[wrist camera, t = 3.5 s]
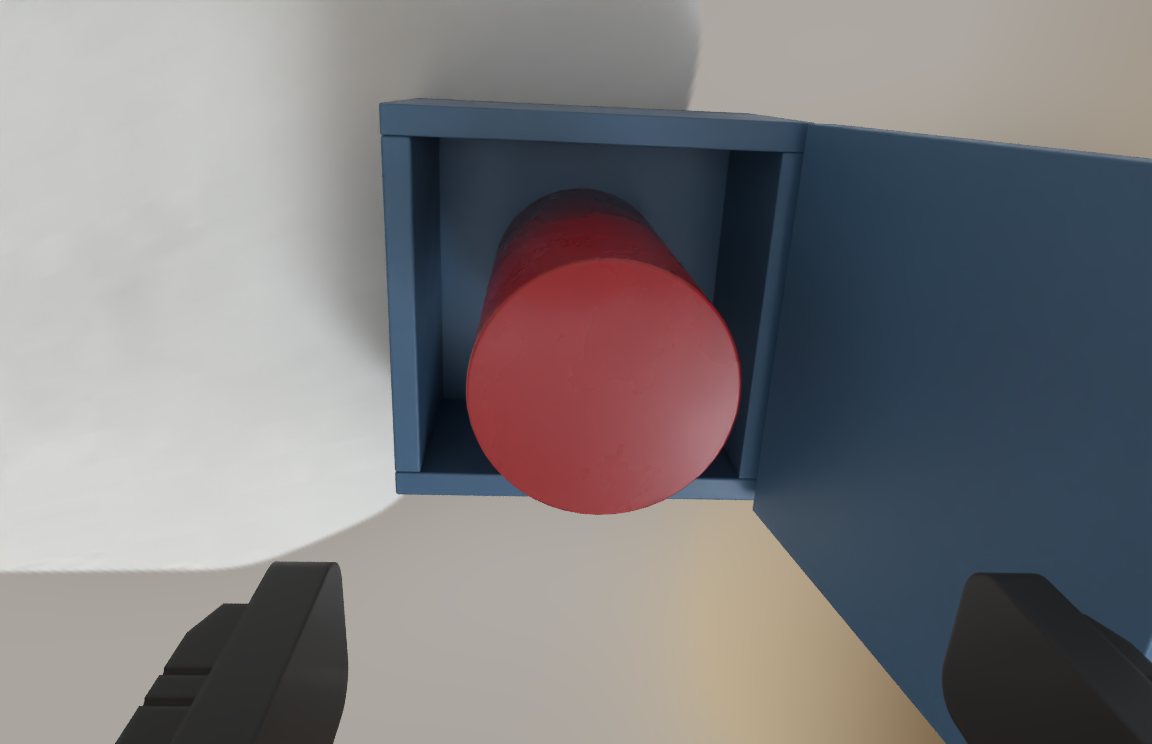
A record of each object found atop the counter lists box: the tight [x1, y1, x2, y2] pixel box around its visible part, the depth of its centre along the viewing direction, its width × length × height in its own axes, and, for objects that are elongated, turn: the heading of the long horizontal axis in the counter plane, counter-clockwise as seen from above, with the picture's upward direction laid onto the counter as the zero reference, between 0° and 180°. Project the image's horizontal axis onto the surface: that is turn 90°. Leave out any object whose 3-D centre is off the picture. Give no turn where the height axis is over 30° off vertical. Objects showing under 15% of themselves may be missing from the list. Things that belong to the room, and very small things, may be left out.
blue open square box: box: [379, 98, 815, 500], centre depth 25 cm, size 12×12×7 cm
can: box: [466, 188, 742, 515], centre depth 22 cm, size 6×6×12 cm
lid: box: [753, 123, 1152, 744], centre depth 17 cm, size 12×12×1 cm
